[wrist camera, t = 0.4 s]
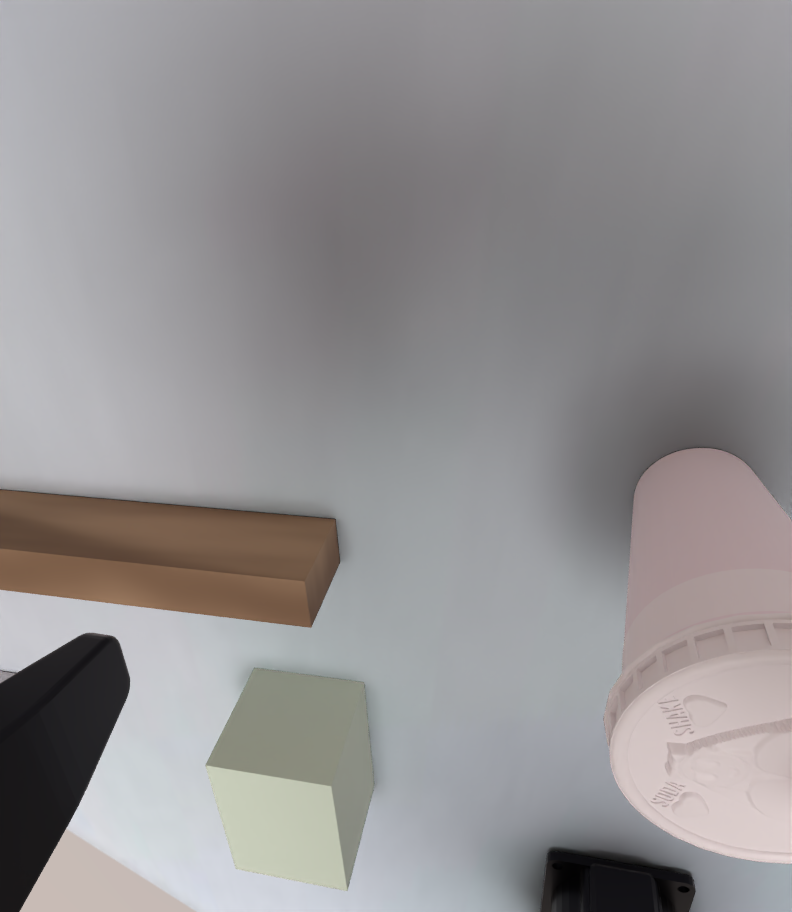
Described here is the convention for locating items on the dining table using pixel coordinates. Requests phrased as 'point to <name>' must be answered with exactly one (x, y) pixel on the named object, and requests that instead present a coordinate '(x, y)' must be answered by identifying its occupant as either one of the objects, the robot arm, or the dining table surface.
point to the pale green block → (295, 777)
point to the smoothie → (707, 659)
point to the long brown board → (168, 556)
